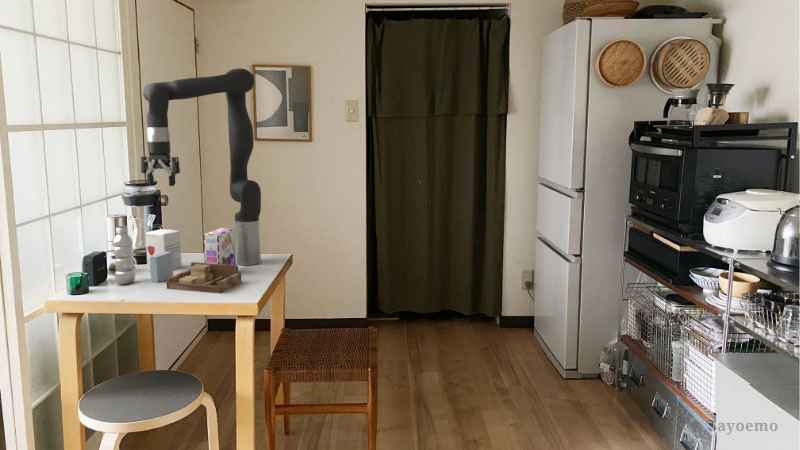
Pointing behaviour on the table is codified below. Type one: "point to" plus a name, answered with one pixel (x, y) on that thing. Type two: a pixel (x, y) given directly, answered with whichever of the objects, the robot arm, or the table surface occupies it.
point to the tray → (221, 281)
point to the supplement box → (164, 245)
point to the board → (161, 266)
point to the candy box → (220, 247)
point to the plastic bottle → (123, 256)
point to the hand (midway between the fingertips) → (161, 185)
